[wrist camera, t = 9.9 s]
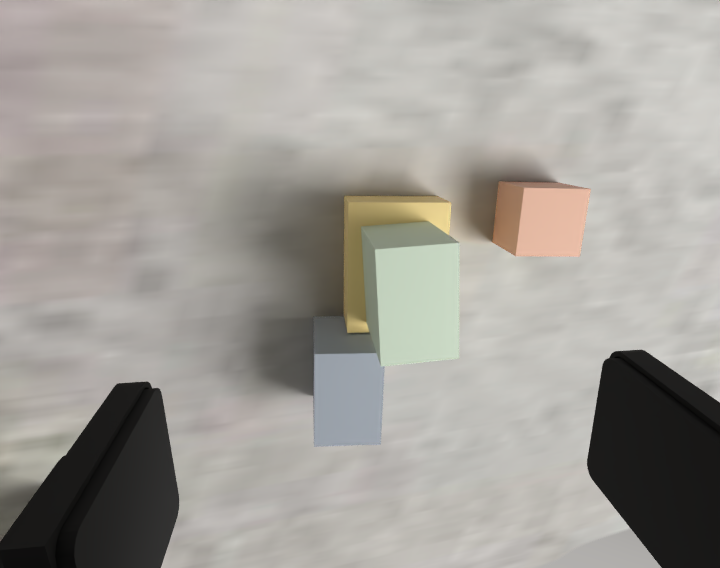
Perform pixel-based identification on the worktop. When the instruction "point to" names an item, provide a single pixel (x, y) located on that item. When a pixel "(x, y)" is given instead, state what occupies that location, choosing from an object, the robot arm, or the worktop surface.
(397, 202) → the ochre block
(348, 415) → the slate block
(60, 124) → the worktop surface
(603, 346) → the worktop surface
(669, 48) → the worktop surface
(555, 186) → the terracotta cube
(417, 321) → the sage block
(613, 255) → the worktop surface
